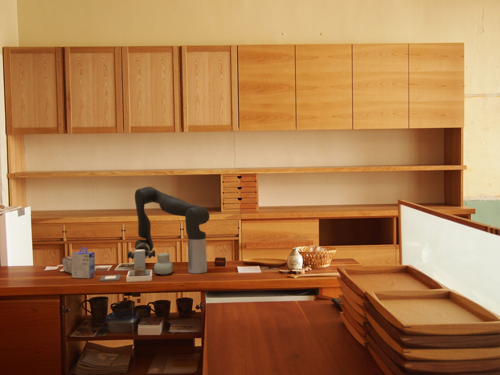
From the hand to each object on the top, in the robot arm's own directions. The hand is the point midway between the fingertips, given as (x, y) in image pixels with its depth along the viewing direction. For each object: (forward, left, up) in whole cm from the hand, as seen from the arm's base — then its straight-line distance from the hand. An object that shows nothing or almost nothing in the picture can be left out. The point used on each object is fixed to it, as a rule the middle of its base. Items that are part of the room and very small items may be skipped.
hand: (141, 256), depth 237 cm
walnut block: (0, +17, -8) cm, 19 cm away
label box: (0, +11, -8) cm, 13 cm away
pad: (+14, +12, -8) cm, 20 cm away
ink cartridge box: (+27, +6, -8) cm, 29 cm away
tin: (+35, -4, -8) cm, 37 cm away
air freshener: (-12, +8, -8) cm, 16 cm away
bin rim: (0, +14, -8) cm, 16 cm away
